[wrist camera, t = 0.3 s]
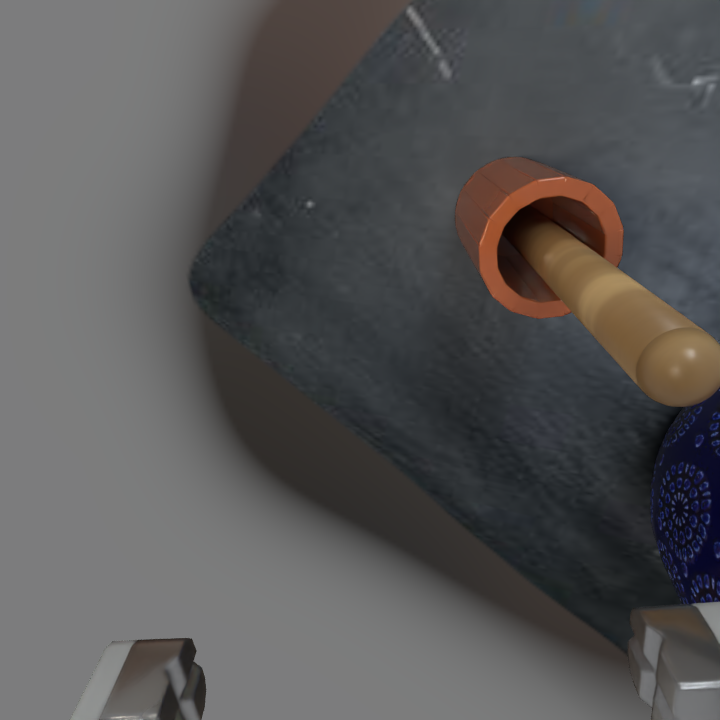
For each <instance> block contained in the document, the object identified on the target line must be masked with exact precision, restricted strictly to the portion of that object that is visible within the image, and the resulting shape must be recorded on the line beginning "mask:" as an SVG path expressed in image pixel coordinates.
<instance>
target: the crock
mask: <svg viewBox="0 0 720 720" xmlns="http://www.w3.org/2000/svg"><path fill="white" fill-rule="evenodd" d="M527 205H531V206H532V207H533V208H535V209H536V210H538V211H539V212H540V213H542V214H543V215H545V216H546V217H547V218H549V219H550V220H552V221H553V222H554V223H556V224H557V225H558V226H560V227H561V228H563V229H564V230H565V231H567V232H568V233H570V234H571V235H572V236H574V237H575V238H576V239H578V240H579V241H581V242H582V243H583V244H585V245H586V246H588V247H589V248H590V249H592V250H593V251H595V252H596V253H597V254H599V255H600V256H601V257H603V258H604V259H606V260H607V261H608V262H610V263H611V264H613V265H614V266H615V267H618V265H619V263H620V260H621V256H622V253H623V234H624V230H623V225H622V222H621V220H620V217H619V215H618V212H617V209H616V207H615V204H613V201H611V200H610V199H609V198H608V197H607V196H606V195H605V194H604V193H603V192H602V191H601V190H599V189H598V188H597V187H596V186H595V185H593V184H591V183H589V182H587V181H584V180H582V179H579V178H577V177H574V176H572V175H570V174H567V173H565V172H562V171H560V170H557V169H555V168H553V167H550V166H548V165H545V164H543V163H540V162H537V161H533V160H531V159H527V158H523V157H507V158H502V159H498V160H495V161H492V162H490V163H488V164H486V165H485V166H483V167H482V168H480V169H479V170H478V171H476V172H475V173H474V174H473V175H472V176H471V177H470V178H469V180H468V181H467V182H466V184H465V185H464V187H463V189H462V190H461V192H460V195H459V197H458V200H457V204H456V210H455V224H456V229H457V233H458V236H459V238H460V240H461V242H462V244H463V246H464V248H465V250H466V252H467V253H468V255H469V257H470V259H471V261H472V262H473V264H474V266H475V268H476V269H477V271H478V273H479V275H480V276H481V278H482V280H483V282H484V284H485V285H486V287H487V289H488V291H489V292H490V294H491V295H492V297H493V298H495V299H496V300H497V301H498V302H500V303H501V304H502V305H503V306H505V307H506V308H507V309H508V310H510V311H512V312H514V313H518V314H521V315H525V316H529V317H532V318H537V319H541V318H550V317H560V316H564V315H567V314H569V313H571V310H570V309H569V308H568V307H567V306H566V305H565V304H564V303H563V302H562V300H561V299H560V298H559V297H558V296H557V295H556V294H555V293H554V291H553V290H552V289H551V288H550V287H549V286H548V285H547V284H546V283H545V281H544V280H543V279H542V278H541V277H540V276H539V275H538V274H537V272H536V271H535V270H534V269H533V268H532V267H531V266H530V265H529V264H528V262H527V261H526V260H525V259H524V258H523V257H522V256H521V255H520V253H519V252H518V251H517V250H516V249H515V248H514V247H513V246H512V245H511V243H510V242H509V241H508V240H507V239H506V238H505V237H504V236H503V234H502V232H503V230H504V227H505V225H506V224H507V223H508V222H509V221H510V220H511V219H512V217H513V216H514V215H515V214H516V213H517V212H518V211H519V210H520V209H522V208H523V207H525V206H527Z"/></svg>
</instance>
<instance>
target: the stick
mask: <svg viewBox="0 0 720 720" xmlns="http://www.w3.org/2000/svg"><path fill="white" fill-rule="evenodd" d="M502 234H503V236H504V237H505V238H506V239H507V240H508V241H509V242H510V243H511V245H512V246H513V247H514V248H515V249H516V250H517V251H518V252H519V253H520V255H521V256H522V257H523V258H524V259H525V260H526V261H527V262H528V264H529V265H530V266H531V267H532V268H533V269H534V270H535V271H536V272H537V274H538V275H539V276H540V277H541V278H542V279H543V280H544V281H545V283H546V284H547V285H548V286H549V287H550V288H551V289H552V290H553V291H554V293H555V294H556V295H557V296H558V297H559V298H560V299H561V300H562V302H563V303H564V304H565V305H566V306H567V307H568V308H569V309H570V310H571V312H572V313H573V314H574V315H575V316H576V317H577V318H578V319H579V321H580V322H581V323H582V324H583V325H584V326H585V327H586V328H587V329H588V331H589V332H590V333H591V334H592V335H593V336H594V337H595V338H596V340H597V341H598V342H599V343H600V344H601V345H602V346H603V347H604V348H605V350H606V351H607V352H608V353H609V354H610V355H611V356H612V357H613V359H614V360H615V361H616V362H617V363H618V364H619V365H620V366H621V367H622V369H623V370H624V371H625V372H626V373H627V374H628V375H629V376H630V378H631V379H632V380H633V381H634V382H635V383H636V384H637V385H638V386H639V388H640V389H641V390H642V391H643V392H644V393H645V394H646V395H647V396H649V397H650V398H651V399H653V400H655V401H656V402H659V403H662V404H664V405H667V406H672V407H687V406H693V405H696V404H699V403H701V402H703V401H705V400H707V399H708V398H709V397H711V396H712V395H713V394H714V393H715V392H716V391H717V390H718V389H719V387H720V345H719V343H718V342H717V341H716V340H715V339H714V338H713V337H712V336H711V335H710V334H708V333H707V332H706V331H704V330H703V329H701V328H700V327H699V326H697V325H696V324H694V323H693V322H692V321H690V320H689V319H688V318H686V317H685V316H683V315H682V314H681V313H679V312H678V311H676V310H675V309H674V308H672V307H671V306H669V305H668V304H667V303H665V302H664V301H663V300H661V299H660V298H658V297H657V296H656V295H654V294H653V293H651V292H650V291H649V290H647V289H646V288H645V287H643V286H642V285H640V284H639V283H638V282H636V281H635V280H633V279H632V278H631V277H629V276H628V275H626V274H625V273H624V272H622V271H621V270H620V269H618V268H617V267H615V266H614V265H613V264H611V263H610V262H608V261H607V260H606V259H604V258H603V257H601V256H600V255H599V254H597V253H596V252H595V251H593V250H592V249H590V248H589V247H588V246H586V245H585V244H583V243H582V242H581V241H579V240H578V239H576V238H575V237H574V236H572V235H571V234H570V233H568V232H567V231H565V230H564V229H563V228H561V227H560V226H558V225H557V224H556V223H554V222H553V221H552V220H550V219H549V218H547V217H546V216H545V215H543V214H542V213H540V212H539V211H538V210H536V209H535V208H533V207H532V206H531V205H527V206H525V207H523V208H522V209H520V210H519V211H518V212H517V213H516V214H515V215H514V216H513V217H512V219H511V220H510V221H509V222H508V223H507V224H506V225H505V227H504V230H503V232H502Z"/></svg>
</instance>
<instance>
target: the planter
mask: <svg viewBox="0 0 720 720" xmlns="http://www.w3.org/2000/svg"><path fill="white" fill-rule="evenodd" d="M650 499H651V523H652V529H653V533H654V536H655V540H656V543H657V546H658V549H659V553H660V556H661V559H662V562H663V564H664V567H665V569H666V571H667V573H668V575H669V577H670V579H671V582H672V584H673V586H674V588H675V590H676V592H677V594H678V597H679V599H680V601H681V603H682V604H694V603H709V602H720V387H719V389H718V390H717V391H716V392H715V393H714V394H713V395H712V396H711V397H709V398H708V399H707V400H705V401H703V402H701V403H699V404H696V405H693V406H687V407H684V408H683V409H682V410H681V412H680V413H679V414H678V416H677V417H676V419H675V420H674V422H673V423H672V425H671V427H670V428H669V430H668V432H667V433H666V435H665V437H664V439H663V441H662V444H661V446H660V449H659V452H658V455H657V458H656V462H655V466H654V471H653V475H652V481H651V494H650Z"/></svg>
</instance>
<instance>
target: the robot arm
mask: <svg viewBox="0 0 720 720" xmlns="http://www.w3.org/2000/svg"><path fill="white" fill-rule="evenodd" d="M630 625H631V627H632V630H633V632H634V634H635V635H634V636H633V637H632V638H631V639H630V640H629V641H628V661H629V668H630V673H631V676H632V679H633V682H634V686H635V688H636V690H637V693H638V695H639V697H640V699H641V700H642V701H644V702H645V703H646V704H647V705H649V706H650V707H651V708H652V716H651V720H720V602H709V603H694V604H676V605H664V606H651V607H638V608H633V610H632V612H631V615H630ZM195 654H196V648H195V646H194V644H193V641H192V639H190V638H176V639H150V640H133V641H113V642H111V643H110V644H109V645H108V646H107V647H106V649H105V650H104V652H103V654H102V656H101V658H100V660H99V662H98V664H97V666H96V668H95V670H94V672H93V674H92V676H91V678H90V680H89V682H88V684H87V686H86V688H85V690H84V692H83V694H82V696H81V698H80V700H79V702H78V704H77V706H76V708H75V710H74V712H73V714H72V716H71V718H70V720H201V719H202V715H203V711H204V707H205V696H206V684H205V676H204V673H203V670H202V668H201V667H200V666H199V665H197V664H196V663H195V662H193V660H194V657H195Z"/></svg>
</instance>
